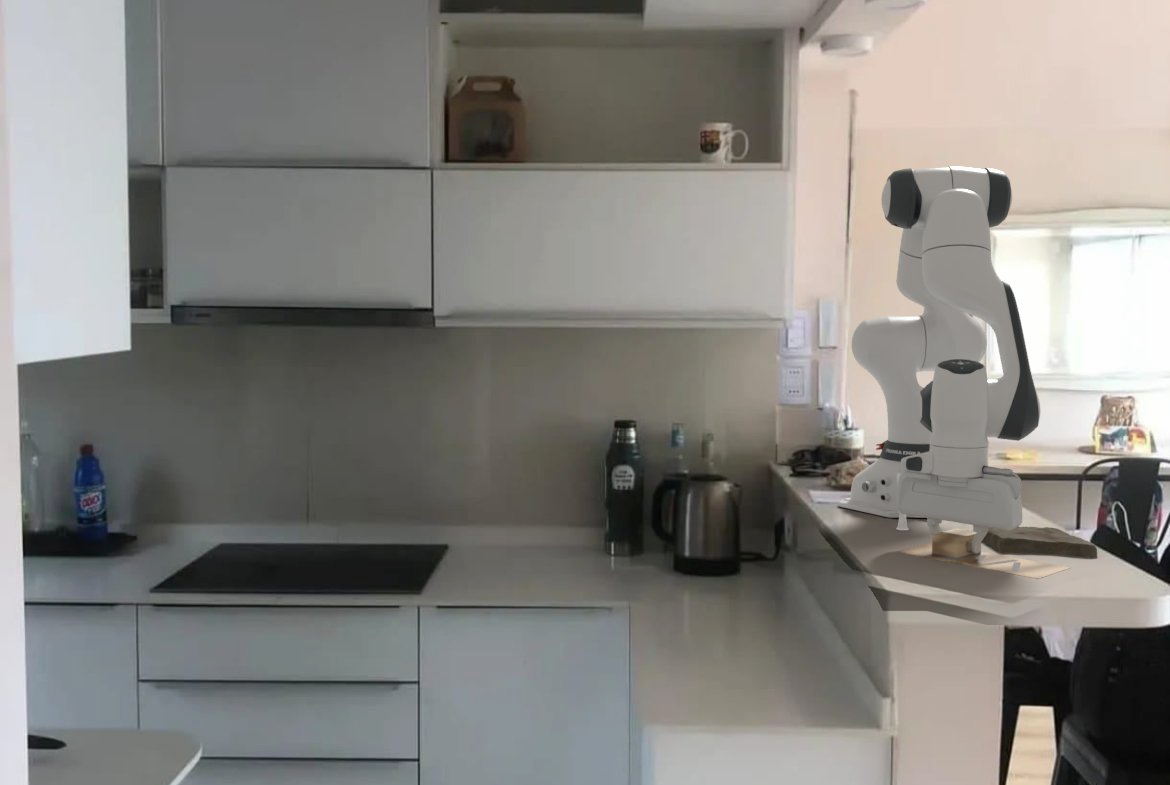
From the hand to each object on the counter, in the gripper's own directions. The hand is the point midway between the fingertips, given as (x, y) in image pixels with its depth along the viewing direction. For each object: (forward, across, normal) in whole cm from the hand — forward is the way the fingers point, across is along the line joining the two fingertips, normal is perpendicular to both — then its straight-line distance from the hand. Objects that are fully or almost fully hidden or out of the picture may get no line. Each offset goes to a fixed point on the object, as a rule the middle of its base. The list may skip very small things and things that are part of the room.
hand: (956, 549), depth 174 cm
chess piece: (+3, +17, -11) cm, 20 cm away
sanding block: (+1, 0, 0) cm, 1 cm away
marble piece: (+3, -5, -15) cm, 16 cm away
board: (+2, -4, 0) cm, 5 cm away
